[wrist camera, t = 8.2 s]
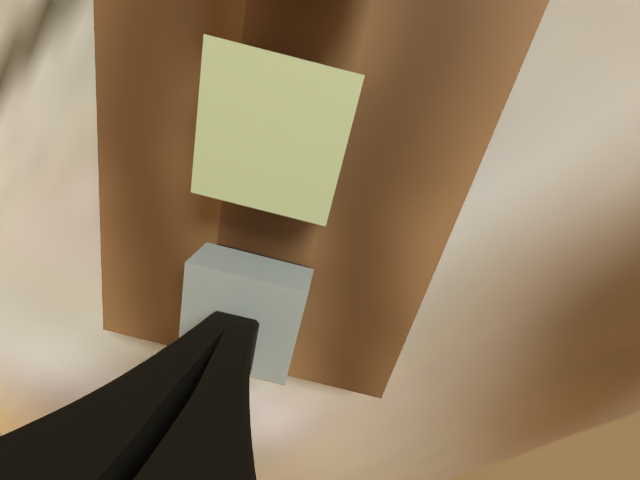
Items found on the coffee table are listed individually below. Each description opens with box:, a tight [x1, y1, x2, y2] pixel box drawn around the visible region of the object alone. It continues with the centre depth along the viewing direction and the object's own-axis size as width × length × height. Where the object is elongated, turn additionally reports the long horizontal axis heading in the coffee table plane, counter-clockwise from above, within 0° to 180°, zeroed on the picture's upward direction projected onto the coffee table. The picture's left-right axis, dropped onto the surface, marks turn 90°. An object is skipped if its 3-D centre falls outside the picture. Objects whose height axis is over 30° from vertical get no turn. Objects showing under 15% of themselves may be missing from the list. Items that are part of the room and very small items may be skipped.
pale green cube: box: [191, 34, 365, 226], centre depth 10 cm, size 4×4×4 cm
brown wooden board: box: [94, 0, 549, 398], centre depth 10 cm, size 12×25×2 cm, turn 167°
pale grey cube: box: [179, 242, 314, 386], centre depth 12 cm, size 4×4×4 cm
